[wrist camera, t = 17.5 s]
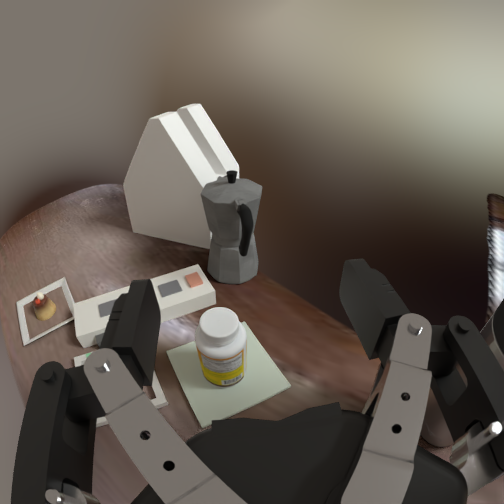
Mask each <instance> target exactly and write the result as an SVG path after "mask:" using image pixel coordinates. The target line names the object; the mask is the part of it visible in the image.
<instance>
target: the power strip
mask: <svg viewBox="0 0 504 504" xmlns="http://www.w3.org/2000/svg"><path fill="white" fill-rule="evenodd" d="M150 280H151V281H152V284H153V287H154V291H155V294H156V297H157V301H158V304H159V307H160V312H161V323H163V322H166V321H169V320H172V319H175V318H177V317H180V316H183V315H186V314H189V313H192V312H194V311H197V310H200V309H203V308H206V307H208V306H211V305H214V304H216V296H215V290H214V289H213V287H212V285H211V284H210V282H209V281H208V279H207V278H206V276H205V274H204V273H203V271H202V270H201V268H200V267H199V265H198V264H197V265H194V266H190V267H187V268H184V269H181V270H178V271H175V272H172V273H168V274H165V275H162V276H159V277H156V278H153V279H150ZM129 288H130V286H128V287H124V288H121V289H118V290H115V291H112V292H109V293H106V294H103V295H100V296H96V297H93V298H90V299H87V300H84V301H81V302H78V303H75V304H73V307H74V320H75V330H76V337H77V339H78V340H79V342H80V343H81V345H82V346H83V348H86V347H90V346H93V345H96V344H98V346H99V348H100V345H101V341H102V338H103V335H104V332H105V329H106V326H107V322H108V321H109V316H110V313H111V311H112V308H113V305H114V302H115V301H116V300H117V299H118V297H119V296H120V295H121V294H122V293H128V291H129Z"/></svg>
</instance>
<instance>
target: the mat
mask: <svg viewBox="0 0 504 504" xmlns="http://www.w3.org/2000/svg"><path fill="white" fill-rule="evenodd" d="M241 324H242V325H243V326H244V328H245V330H246V335H247V354H246V374H245V376H244V378H243V379H242V381H241V382H239V383H238V384H237V385H235V386H232V387H228V388H220V387H216V386H214V385H212V384H210V383H209V382H208V381H207V380H206V379H205V377H204V375H203V372H202V368H201V364H200V360H199V356H198V352H197V348H196V343H195V341H193V342H190V343H188V344H185V345H182V346H179V347H177V348H174V349H171V350H168V351H166V352H167V355H168V357H169V359H170V362H171V364H172V366H173V369H174V371H175V373H176V375H177V378H178V380H179V382H180V384H181V386H182V388H183V391H184V393H185V395H186V397H187V399H188V401H189V403H190V405H191V407H192V409H193V411H194V413H195V415H196V417H197V419H198V421H199V423H200V425H201V427H202V428H204V427H207V426H209V425H212V420H224V419H226V418H228V417H230V416H233V415H235V414H237V413H239V412H242V411H244V410H246V409H248V408H250V407H252V406H254V405H256V404H259V403H261V402H263V401H265V400H267V399H269V398H271V397H273V396H275V395H276V394H278V393H280V392H282V391H284V390H286V389H288V388H290V387H291V385H290V383H289V382H288V381H287V379H286V378H285V377H284V375H283V374H282V373H281V371H280V370H279V369H278V367H277V366H276V365H275V363H274V362H273V361H272V359H271V358H270V356H269V355H268V354H267V352H266V351H265V350H264V348H263V347H262V345H261V344H260V343H259V341H258V340H257V338H256V337H255V336H254V334H253V333H252V331H251V330H250V329H249V327H248V326H247V324H246V323H245V321H244V322H242V323H241Z"/></svg>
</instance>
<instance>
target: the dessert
mask: <svg viewBox="0 0 504 504" xmlns="http://www.w3.org/2000/svg"><path fill="white" fill-rule="evenodd" d="M60 286H62V289H63V292H64V294H65V297H66V300H67V302H68V305H69V308H70V310H71V313H72V315H73V317H71V318H69V319H67V320H66V321H64V322H62V323H60V324H58V325H56V326H54V327H52V328H50V329H49V330H47V331H45V332H43V333H41V334H39V335H37V336H36V337H34V338H32V339H29V335H28V330H27V325H26V320H25V314H24V309H23V306H24V305H25V304H27V303H29V302H31V301H33V307H34V310H35V314H36V317H37V319H38V320H41V321H44V320H47V319H49V318H50V317H52V316H53V314H54V313H55V311H56V305H55V304H54V303H53V302H52V301H51V300H50V299H49V298H48V297H47V296H46V295H45V294H46V293H48V292H50V291H52V290H54V289H56V288H58V287H60ZM73 304H75V302H74V300H73V297H72V295H71V292H70V290H69V287H68V285H67V282H66V279H65V277H63V278H61V279H59V280H57V281H56V282H54V283H52V284H50V285H48V286H46V287H44V288H42V289H40V290H38V291H36V292H34V293H32V294H31V295H29V296H27V297H25V298H23V299H21V300H19V301H18V302H16V305H17V312H18V319H19V325H20V330H21V335H22V340H23V345H24V346H25V345H27V344H29V343H31V342H32V341H34V340H36V339H38V338H40V337H42V336H44V335H45V334H47V333H49V332H51V331H53V330H55V329H57V328H58V327H60V326H62V325H64V324H66V323H68V322H70V321H72V320H74V307H73Z"/></svg>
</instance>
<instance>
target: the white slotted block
mask: <svg viewBox="0 0 504 504" xmlns="http://www.w3.org/2000/svg"><path fill="white" fill-rule="evenodd" d="M230 170H234V171H237V177H236V178H238V179H239V165H238V164H237V162H236V160H235V159H234V157H233V155H232V154H231V152H230V151H229V149H228V147H227V145H226V144H225V142H224V141H223V139H222V137H221V136H220V134H219V133H218V131H217V129H216V128H215V126H214V125H213V123H212V122H211V120H210V118H209V117H208V115H207V113H206V112H205V110H204V109H203V107H202V105H201V104H191V105H188V106H184V107H181V108H179V109H178V110H177V112H166V113H164V114H161V115H158V116H155V117H153V118H150V119H149V121H148V123H147V125H146V128H145V130H144V132H143V135H142V137H141V139H140V142H139V144H138V147H137V149H136V152H135V154H134V157H133V160H132V162H131V164H130V167H129V170H128V173H127V175H126V178H125V181H124V184H123V187H124V192H125V197H126V202H127V207H128V212H129V217H130V221H131V226H132V230H133V232H134V233H139V234H143V235H148V236H152V237H157V238H161V239H166V240H170V241H175V242H179V243H184V244H188V245H193V246H197V247H202V248H206V249H210V243H211V238H212V232H211V231H210V230H209V227H208V223H207V219H206V215H205V211H204V207H203V202H202V198H201V192H202V190H203V188H204V186H205V185H206V184H207V183H210V182H213V181H216V180H217V178H218V177H219V176H221V177H224V176H226V175H227V174H226V172H227V171H230Z"/></svg>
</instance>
